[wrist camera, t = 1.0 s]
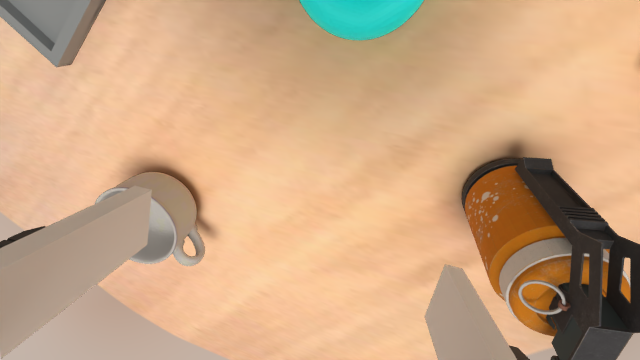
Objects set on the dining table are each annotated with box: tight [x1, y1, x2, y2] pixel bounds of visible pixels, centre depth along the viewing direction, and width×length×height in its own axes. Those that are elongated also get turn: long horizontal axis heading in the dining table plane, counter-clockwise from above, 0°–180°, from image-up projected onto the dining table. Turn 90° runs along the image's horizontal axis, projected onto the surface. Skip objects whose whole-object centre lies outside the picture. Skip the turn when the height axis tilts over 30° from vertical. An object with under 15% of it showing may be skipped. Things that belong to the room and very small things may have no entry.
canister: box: [462, 157, 640, 360], centre depth 28 cm, size 9×11×20 cm
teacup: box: [95, 172, 205, 266], centre depth 43 cm, size 14×11×8 cm
